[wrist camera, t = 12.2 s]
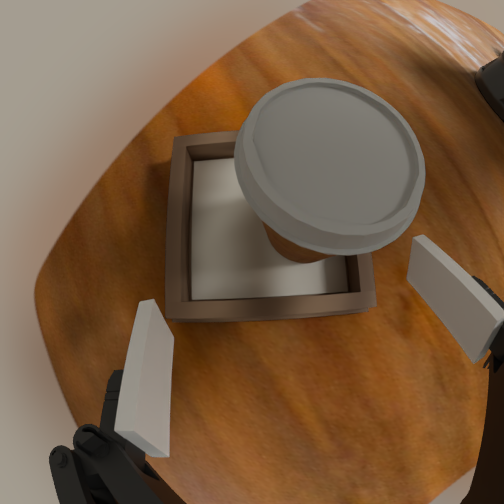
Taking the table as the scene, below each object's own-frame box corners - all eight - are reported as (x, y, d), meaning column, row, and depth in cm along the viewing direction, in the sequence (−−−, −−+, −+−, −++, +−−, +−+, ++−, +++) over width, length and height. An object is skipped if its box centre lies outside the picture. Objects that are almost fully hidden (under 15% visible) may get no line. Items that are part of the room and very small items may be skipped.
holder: (339, 148, 26) (348, 127, 23) (364, 311, 22) (380, 310, 19) (180, 155, 26) (171, 134, 23) (175, 322, 23) (161, 322, 19)
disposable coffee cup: (260, 164, 24) (259, 59, 12) (363, 189, 23) (424, 104, 12) (232, 268, 22) (202, 216, 10) (349, 295, 21) (432, 271, 10)
